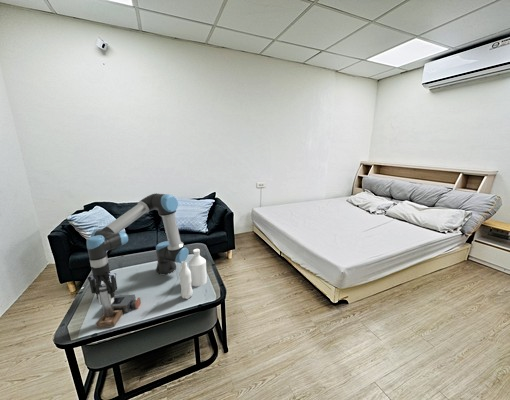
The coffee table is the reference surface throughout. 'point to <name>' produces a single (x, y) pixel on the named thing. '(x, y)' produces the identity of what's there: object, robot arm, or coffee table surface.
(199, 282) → the bottle
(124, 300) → the socket block
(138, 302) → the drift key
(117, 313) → the brown square tray
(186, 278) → the water bottle
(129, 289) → the coffee table surface
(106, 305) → the peg
